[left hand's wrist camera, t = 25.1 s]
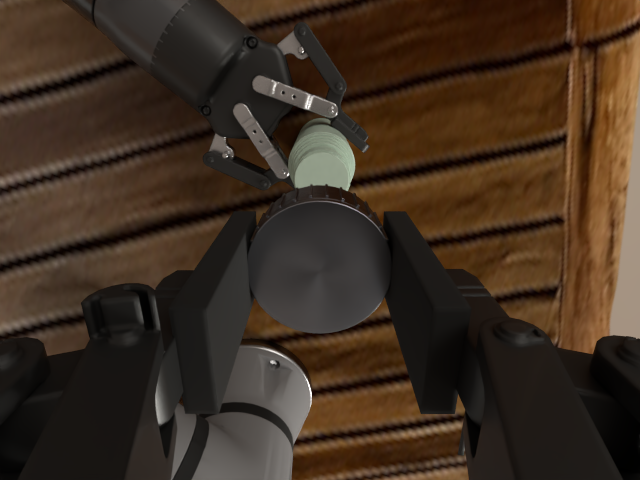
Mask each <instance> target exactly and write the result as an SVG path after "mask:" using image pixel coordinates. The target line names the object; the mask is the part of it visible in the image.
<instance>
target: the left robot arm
mask: <svg viewBox="0 0 640 480" xmlns="http://www.w3.org/2000/svg"><path fill="white" fill-rule="evenodd" d="M256 227H257V224H256V212H234V213H233V214H232V216H231V217H230V219H229V220H228V222H227V223H226V224H225V226H224V227H223V229H222V230H221V232H220V233H219V235H218V236H217V238H216V239H215V241H214V242H213V243H212V245H211V246H210V248H209V249H208V251H207V252H206V254H205V255H204V257H203V258H202V260H201V261H200V262H199V264H198V265H197V267H196V268H195V270H177V271H175V272H174V273H172V274H170V275H169V276H167V277H165V278H164V279H163V280H162V281H161V282H160V283H159V285H158V286H157V287H156V290H154V289H153V288H151V287H150V286H148V285H144V284H139V283H128V284H120V285H115V286H110V287H107V288H104V289H101V290H99V291H97V292H95V293H93V294H91V295H89V296H88V297H87V298H85V299H84V300H83V301H82V302H81V305H82V309H83V313H84V317H85V321H86V325H87V329H88V333H89V337H90V340H89V342H88V344H87V346H86V348H85V349H82V350H78V351H72V352H67V353H62V354H56V355H51V356H47V354H46V351H45V347H44V344H43V343H42V342H41V341H40V340H38V339H35V338H28V337H24V338H11V339H6V340H4V341H3V340H2V341H0V480H291V473H292V459H293V445H294V442H295V440H296V438H297V436H298V434H299V432H300V430H301V428H302V426H303V423H304V421H305V419H306V417H307V415H308V413H309V410H310V406H311V397H312V385H311V379H310V376H309V374H308V371H307V369H306V368H305V366H304V365H303V363H302V362H301V361H300V360H299V359H298V358H297V357H296V356H295V355H294V354H293V353H291V352H290V351H289V350H287V349H285V348H283V347H282V346H280V345H277V344H275V343H272V342H268V341H264V340H258V339H242V337H243V334H244V330H245V327H246V324H247V321H248V317H249V314H250V311H251V308H252V304H253V301H254V298H255V297H254V295H253V293H252V291H251V289H250V285H249V276H248V262H247V255H248V251H249V247H250V245H251V243H250V240H251V238H252V236H253V233H254V231H255V229H256ZM383 228H384V231H385V233H386V235H387V237H388V240H389V241H388V245H389V248H390V251H391V255H392V273H391V282H390V286H389V289H388V291H387V293H386V295H385V299H386V302H387V305H388V309H389V312H390V315H391V318H392V321H393V325H394V328H395V331H396V334H397V338H398V341H399V344H400V347H401V351H402V354H403V357H404V360H405V364H406V367H407V370H408V373H409V377H410V380H411V383H412V386H413V390H414V393H415V396H416V399H417V403H418V406H419V409H420V412H421V414H455V409H456V403H457V397H458V394H459V396H460V399H461V401H462V403H463V405H464V408H465V416H464V421H463V427H462V433H461V439H460V445H459V451H458V455H464V450H465V451H466V459H467V467H468V475H469V480H640V339H636V338H634V337H629V336H626V337H625V336H615V335H613V336H606V337H602V338H601V339H599V340H598V341H597V343H596V346H595V349H594V353H593V354H588V353H583V352H577V351H572V350H566V349H561V348H557V347H554V346H553V344H552V342H551V340H550V338H549V337H548V336H547V335H546V334H545V332H544V331H542V330H541V329H539V328H538V327H536V326H534V325H533V324H530V323H528V322H525V321H522V320H519V319H514V318H510V317H509V316H508V315H507V314H506V312H505V311H504V310H503V309H502V308H501V306H500V305H499V304H498V303H497V302H496V300H495V299H494V298H493V297H491V294H490V293H489V292H488V291H487V289H484V286H483V284H482V283H481V282H480V281H479V280H478V278H477V277H475V276H474V275H472V274H470V273H468V272H467V271H465V270H463V269H444V267H443V266H442V264H441V263H440V261H439V260H438V258H437V257H436V256H435V254H434V253H433V251H432V250H431V248H430V247H429V245H428V244H427V242H426V241H425V239H424V238H423V237H422V235H421V234H420V232H419V231H418V229H417V228H416V226H415V225H414V223H413V222H412V220H411V219H410V218H409V216H408V215H407V213H406V212H384V220H383ZM181 396H182V398H183V405H184V406H183V405H181V404H179V403H178V402H179V400H180V398H181Z"/></svg>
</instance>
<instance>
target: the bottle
mask: <svg viewBox="0 0 640 480" xmlns="http://www.w3.org/2000/svg"><path fill="white" fill-rule="evenodd" d="M330 122H331V121H330V120H329V119H326V118H317V119H313V120H311V121H309V122H308V123H306V124H305V125H304V126H303V127H302V129H301V131H300V133H299V135H298V137H297V139H296V141H295V144H294V146H293V148H292V150H291V153H290V156H289V160H288V170H289V174H290V177H291V180H292V182H293V184H294V187H295V189H296V188H297V187H298V189H299V188H302V187H307V186H310V184H313V186H314V185H325V184H328V186H332V187H337V188H340V187H342V188H343V189H344V190H346V191H348V189H349V186H350V182H351V180H352V177H353V174H354V170H355V160H354V155H353V153H352V150H351V148H350V146H349V144H348V142H347V140H346V138H345V136H344V135H342V133H340V132H339V131H338V130H336V129H335V128H334V127H333V126H332V125H331V124H330Z"/></svg>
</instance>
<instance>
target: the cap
mask: <svg viewBox="0 0 640 480" xmlns="http://www.w3.org/2000/svg"><path fill="white" fill-rule="evenodd" d="M388 241H389V240H388V237H387V235H386V233H385V231H384V228H383V226H382V224H381V223H380V221H379V219H378V217H377V214H376V212H374V213H373V211H372V210H371V209H370V208H369V206H368V203H367V202H366V201H365V202H364V201H362V200H361V199H360V198H359V197H357V196H356V194H355V193H353V194H352V193H350V192H348V191H346V190H344V189H343V188H342V187H340V188H337V187H332V186H328V184H325V185H314V186H313V184H310V186H307V187H302V188H299V189H298V187H297V188H296V189H295V190H293V191H291V192H289V193H287V194H285V193H284V194H282V197H281V198H279V199H278V200H277V201H276V202H275V203H273V202H272V203H271V205H270V208H269V209H268V210H267V212H266V213H263V215H262V217H261V219H260V221H259V223H258V225H257V227H256V229H255V231H254V233H253V236H252V238H251V240H250V243H251V245H250V247H249V251H248V255H247V262H248V276H249V285H250V289H251V291H252V293H253V295H254V297H255V299H256V300H257V302H258V303H259V305H260V306H261V307H262V308H263V309H264V310H265V311H266V312H267V313H268V314H269V315H270V316H271V317H272V318H274V319H275V320H277V321H278V322H280V323H282V324H284V325H286V326H288V327H290V328H293V329H296V330H299V331H303V332H310V333H330V332H336V331H340V330H343V329H347V328H349V327H351V326H354V325H356V324H358V323H359V322H361V321H363V320H364V319H365V318H367V317H368V316H369V315H370V314H371V313H372V312H373V311H375V310H376V308H377V307H378V306H379V305H380V303H381V302H382V300H383V299H384V297H385V295H386V293H387V291H388V289H389V286H390V282H391V273H392V255H391V251H390V248H389V245H388Z"/></svg>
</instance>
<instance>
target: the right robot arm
mask: <svg viewBox="0 0 640 480" xmlns="http://www.w3.org/2000/svg"><path fill="white" fill-rule="evenodd" d="M62 1H63V2H64V3H66V4H67V5H69V6H70V7H71V8H72V9H74V10H75V11H76V12H77V13H79V14H80V15H81V16H82V17H84V18H85V19H86V20H88V21H89V22H90V23H91V24H93V25H94V26H95V27H96V28H98V29H99V30H100V31H101V32H102V33H104V34H105V35H106V36H107V37H108V38H109V39H110V40H111V41H112V42H113V43H114V44H115V45H116V46H117V47H118V48H119V49H120V50H121V51H122V52H123V53H124V54H125V55H127V56H128V57H129V58H130V59H132V60H133V61H134V62H135V63H137V64H138V65H139V66H140V67H142V68H143V69H144V70H146V71H147V72H148V73H149V74H151V75H152V76H153V77H154V78H156V79H157V80H158V81H160V82H161V83H162V84H163V85H165V86H166V87H167V88H168V89H170V90H171V91H172V92H174V93H175V94H176V95H177V96H179V97H180V98H181V99H182V100H184V101H185V102H186V103H188V104H189V105H190V106H191V107H193V108H194V109H195V110H196V111H198V112H199V113H200V114H202V115H203V116H204V117H205V118H206V119H207V120H208V121H209V123H210V125H211V127H212V129H213V131H214V132H215V136H214V139H213V141H212V144H211V147H210V150H209V152H207V153H205V154H204V156H203V162H204V163H205V165H207V166H209V167H211V168H213V169H215V170H218V171H220V172H222V173H224V174H227V175H229V176H231V177H233V178H236V179H238V180H240V181H242V182H245V183H247V184H249V185H251V186H254V187H256V188H258V189H260V190H267V189H268V188H269V187H270V186H272V185H273V184H275V183H277V182H279V181H284V182H286V183H288V184H289V185H290V186H291V187H293V188H294V189H295V187H294V184H293V182H292V180H291V177H290V174H289V170H288V159H287V157H286V156H285V154H284V153H283V151H282V149H281V148H280V146H279V143H278V142H277V140H276V138H275V137H274V135H273V133H274V131H275V130H276V129H277V127H278V125H279V122H280V120H281V118H282V117H283V116H284V115H286V114H287V113H288V112H289V111H290V110H291V109H292V107H293V106H297V107H300V108H302V109H305V110H309V111H311V112H314V113H317V114H319V115H322V116H325V117H326V118H327V119H329V120H330V121H331V122H330V124H331V125H332V126H333V127H334V128H335V129H336V130H338V131H339V132H340V133H342V135H344V136H345V137H346V138H347V139H348V140H349V141H351V142H352V143H353V144H354V145H355V146H356V147H358V148H359V149H360V150H361V151H362V152H364V153H365V152H366V150H367V149H368V148H369V147H370V146H369V145H368V144H367V143H366V142H365V141H366V140H367V138H368V135H367V133H366V131H365V130H364V129H363V128H361V127H360V126H359V125H358V124H357V123H356V122H355V121H353V120H352V119H351V118H350V117H349V116H348V115H347V114H345V113H344V112H343V111H342V109H341V100H342V97H343V95H344V92H345V91H346V88H347V85H346V82H345V80H344V79H343V77H342V76H341V74H340V73H339V71H338V70H337V68H336V67H335V65H334V64H333V62H332V61H331V59H330V58H329V56H328V55H327V53H326V52H325V50H324V49H323V47H322V46H321V44H320V43H319V41H318V40H317V38H316V37H315V35H314V34H313V32H312V31H311V29H310V28H309V26H308V25H307V24H306V23H304V22H300V23H298V24H296V26H295V27H294V31H293V32H292V33H291V34H289V35H288V36H287V37H286V38H285V39H283V40H282V41H281V42H280V43H279V44H278V45H276V44H274V43H269V42H265V41H263V40H261V39H260V38H259V37H257V36H256V35H255V34H254V33H253V32H252V31H251V30H249V29H248V28H247V27H246V26H245V25H244V24H242V23H241V22H240V21H239V20H238V19H237V18H236V17H234V16H233V15H232V14H231V13H230V12H229V11H228V10H226V9H225V8H224V7H223V6H222V5H221V4H220V3H218V2H217V1H216V0H62ZM288 54H293V55H295V56H296V57H297V58H298V59H300V60H305V59H307V58H308V57H309V58H310V60H311V61H312V63H313V64H314V65H315V67H316V68H317V70H318V71H319V73H320V74H321V76H322V77H323V79H324V80H325V82H326V83H327V85H328V86H329V90H328V93H327V96H326V99H324V98H321V97H319V96H316V95H314V94H311V93H309V92H306V91H303V90H301V89H298V88H295V87H294V86H293V82H292V79H291V75H290V71H289V68H288V64H287V60H286V55H288ZM228 138H238V139H251V140H252V142H253V143H254V145H255V146H256V148H257V149H258V151H259V153H260V154H261V155H262V157H263V158H265V159H266V161H267V162H268V164H269V166H270V167H271V168H269V169H268V170H265V169H263V168H261V167H259V166H257V165H254V164H252V163H250V162H248V161H246V160H243V159H241V158H239V157H237V156H236V151H235V149H234V148H233V147H232V146H230V145H229V143H228Z"/></svg>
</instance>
